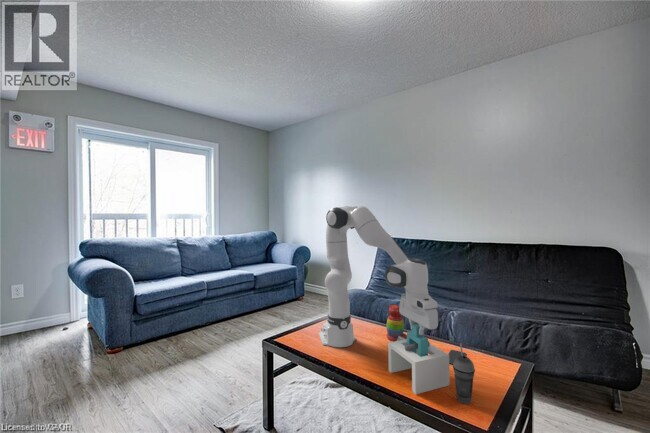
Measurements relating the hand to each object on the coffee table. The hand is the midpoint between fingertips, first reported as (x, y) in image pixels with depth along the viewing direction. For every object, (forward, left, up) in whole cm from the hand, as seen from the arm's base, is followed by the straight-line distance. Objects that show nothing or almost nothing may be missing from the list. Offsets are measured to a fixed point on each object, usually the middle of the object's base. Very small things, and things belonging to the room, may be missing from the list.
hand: (417, 332), depth 120 cm
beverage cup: (+18, +6, -19) cm, 27 cm away
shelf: (0, 0, -19) cm, 19 cm away
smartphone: (-7, +27, -19) cm, 34 cm away
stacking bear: (-36, +14, -19) cm, 43 cm away
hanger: (0, 0, -12) cm, 12 cm away
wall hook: (-16, +7, -19) cm, 26 cm away
